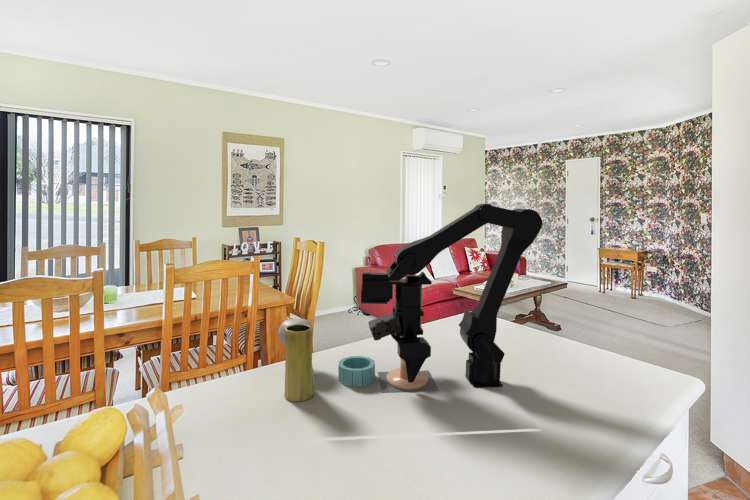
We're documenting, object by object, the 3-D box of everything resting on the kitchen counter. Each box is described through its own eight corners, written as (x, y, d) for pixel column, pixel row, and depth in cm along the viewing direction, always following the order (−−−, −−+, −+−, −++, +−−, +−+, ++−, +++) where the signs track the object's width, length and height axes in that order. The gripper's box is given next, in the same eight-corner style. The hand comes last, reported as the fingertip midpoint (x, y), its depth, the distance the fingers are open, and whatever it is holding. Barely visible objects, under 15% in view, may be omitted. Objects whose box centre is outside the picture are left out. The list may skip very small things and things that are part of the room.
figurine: (288, 361, 100) (287, 314, 99) (317, 363, 99) (316, 316, 97) (274, 374, 92) (272, 323, 91) (305, 377, 91) (304, 326, 89)
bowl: (373, 372, 94) (373, 355, 93) (376, 387, 86) (376, 369, 86) (338, 373, 93) (338, 356, 93) (338, 389, 85) (338, 371, 85)
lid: (422, 371, 93) (423, 348, 93) (431, 389, 85) (432, 364, 84) (384, 372, 93) (384, 349, 92) (389, 391, 84) (389, 365, 83)
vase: (308, 403, 79) (307, 333, 77) (279, 400, 80) (277, 331, 79) (318, 389, 85) (317, 324, 83) (291, 386, 86) (290, 322, 85)
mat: (428, 372, 94) (428, 370, 94) (439, 392, 84) (439, 390, 84) (377, 373, 93) (377, 372, 93) (382, 394, 83) (382, 392, 83)
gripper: (367, 294, 95) (367, 357, 97) (374, 317, 77) (374, 394, 78) (414, 293, 96) (413, 356, 98) (432, 316, 78) (430, 392, 79)
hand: (407, 373), depth 88 cm, fingers open, 8 cm apart
